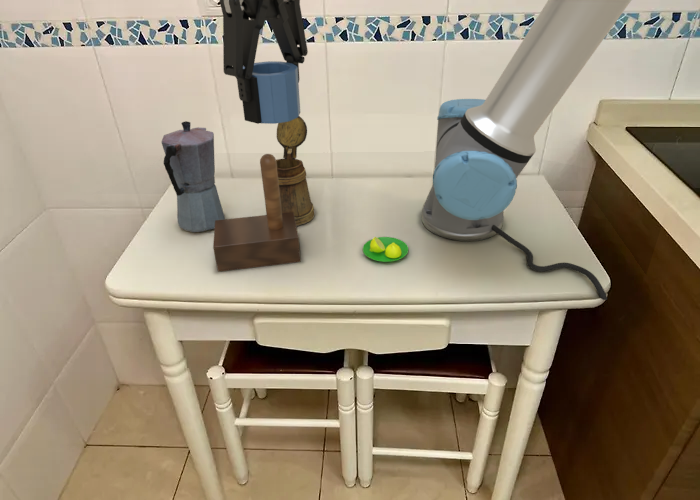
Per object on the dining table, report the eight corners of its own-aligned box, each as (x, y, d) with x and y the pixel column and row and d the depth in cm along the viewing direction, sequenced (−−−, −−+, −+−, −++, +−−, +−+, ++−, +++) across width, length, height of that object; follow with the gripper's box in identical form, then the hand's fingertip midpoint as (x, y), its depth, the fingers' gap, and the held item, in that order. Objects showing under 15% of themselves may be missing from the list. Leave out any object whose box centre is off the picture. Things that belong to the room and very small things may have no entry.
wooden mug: (321, 195, 110) (316, 112, 100) (310, 227, 99) (303, 137, 89) (280, 194, 111) (271, 111, 101) (265, 226, 100) (253, 136, 90)
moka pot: (238, 205, 107) (222, 110, 96) (212, 245, 94) (191, 141, 83) (193, 203, 108) (173, 109, 97) (162, 243, 96) (135, 140, 85)
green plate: (363, 265, 88) (363, 251, 86) (361, 240, 95) (361, 227, 93) (410, 263, 88) (411, 250, 87) (405, 239, 95) (406, 225, 93)
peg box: (295, 235, 97) (286, 142, 87) (300, 261, 89) (291, 163, 79) (219, 243, 95) (201, 149, 85) (218, 271, 87) (198, 172, 77)
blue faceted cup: (310, 112, 81) (307, 65, 77) (275, 127, 75) (271, 78, 72) (271, 103, 85) (266, 58, 81) (235, 117, 79) (228, 70, 75)
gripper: (287, -62, 77) (297, 92, 89) (173, -55, 62) (204, 128, 75) (328, -61, 73) (332, 99, 85) (217, -53, 59) (242, 139, 71)
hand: (273, 112), depth 80 cm, fingers closed on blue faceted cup, 8 cm apart
